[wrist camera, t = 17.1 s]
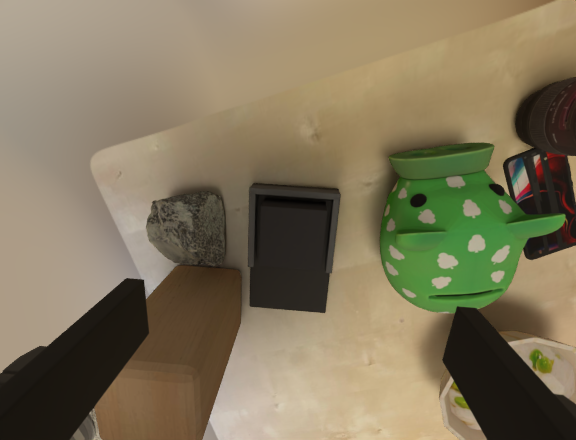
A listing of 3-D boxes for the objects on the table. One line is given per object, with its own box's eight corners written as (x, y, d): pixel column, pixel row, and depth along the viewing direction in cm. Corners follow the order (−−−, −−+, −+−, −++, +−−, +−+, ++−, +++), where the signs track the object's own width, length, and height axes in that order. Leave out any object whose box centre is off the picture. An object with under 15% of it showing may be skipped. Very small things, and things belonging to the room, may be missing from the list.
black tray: (324, 309, 46) (326, 321, 43) (250, 303, 46) (247, 314, 43) (338, 188, 40) (340, 193, 37) (253, 182, 41) (249, 187, 38)
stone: (216, 256, 33) (126, 227, 32) (214, 284, 41) (143, 260, 41) (244, 189, 38) (167, 162, 37) (237, 226, 46) (174, 204, 46)
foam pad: (263, 252, 43) (258, 265, 39) (265, 197, 40) (260, 205, 36) (319, 257, 42) (321, 270, 38) (325, 202, 40) (327, 210, 36)
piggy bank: (478, 136, 37) (585, 145, 23) (474, 268, 42) (559, 342, 28) (361, 154, 39) (393, 173, 24) (371, 279, 44) (403, 355, 30)
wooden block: (179, 318, 48) (96, 447, 29) (176, 261, 45) (80, 364, 26) (241, 324, 48) (198, 458, 29) (242, 267, 45) (195, 375, 26)
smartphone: (527, 262, 41) (503, 161, 37) (524, 259, 42) (500, 160, 38) (584, 243, 40) (565, 136, 36) (579, 241, 41) (560, 136, 37)
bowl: (394, 329, 46) (417, 383, 37) (521, 273, 42) (584, 318, 33) (444, 413, 51) (475, 480, 41) (563, 371, 47) (629, 434, 37)
